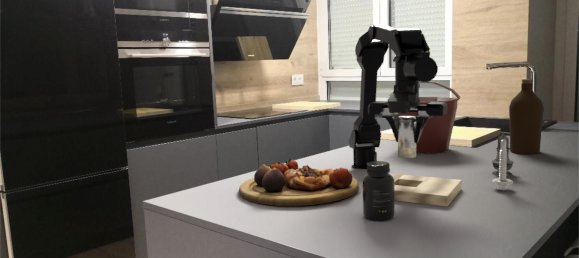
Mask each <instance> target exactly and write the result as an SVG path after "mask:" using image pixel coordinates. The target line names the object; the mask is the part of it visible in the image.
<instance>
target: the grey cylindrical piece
mask: <svg viewBox="0 0 579 258" xmlns="http://www.w3.org/2000/svg"><path fill="white" fill-rule="evenodd" d="M415 133H416V117H415V116H399V117H398V142H397V157H398V158H402V159H415V158H416V157H417V153H416V143H415Z"/></svg>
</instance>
